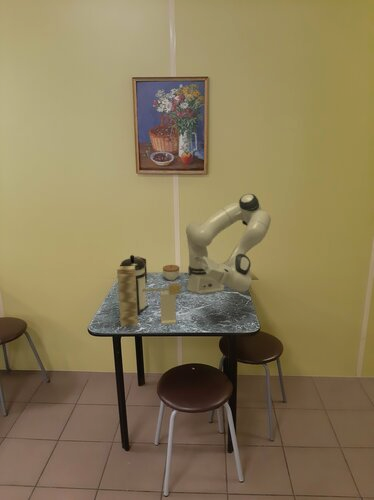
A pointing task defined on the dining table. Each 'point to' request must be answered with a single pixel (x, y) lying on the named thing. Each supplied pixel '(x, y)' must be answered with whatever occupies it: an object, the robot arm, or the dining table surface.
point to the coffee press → (138, 280)
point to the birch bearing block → (127, 295)
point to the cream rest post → (167, 308)
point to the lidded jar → (171, 272)
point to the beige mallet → (173, 288)
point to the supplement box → (145, 266)
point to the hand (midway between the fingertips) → (196, 260)
